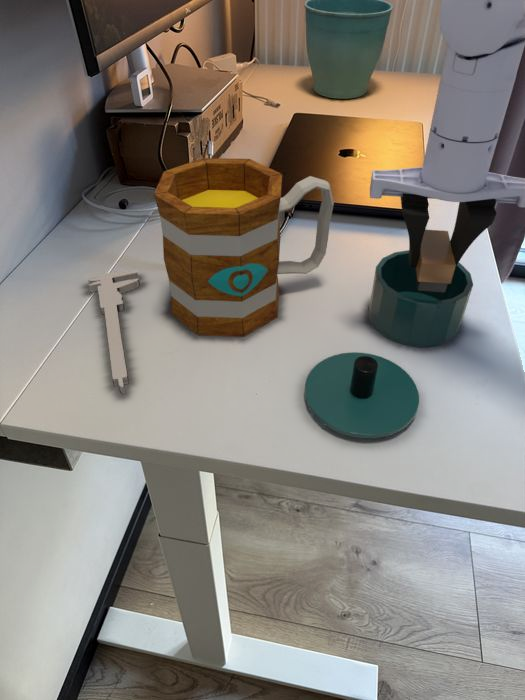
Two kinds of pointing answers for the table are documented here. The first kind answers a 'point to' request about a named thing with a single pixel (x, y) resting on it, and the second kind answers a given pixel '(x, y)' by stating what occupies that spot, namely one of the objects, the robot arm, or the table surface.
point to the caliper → (115, 316)
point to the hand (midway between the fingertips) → (431, 263)
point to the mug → (230, 242)
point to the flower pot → (345, 44)
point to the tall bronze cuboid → (435, 262)
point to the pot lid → (361, 395)
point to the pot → (416, 304)
